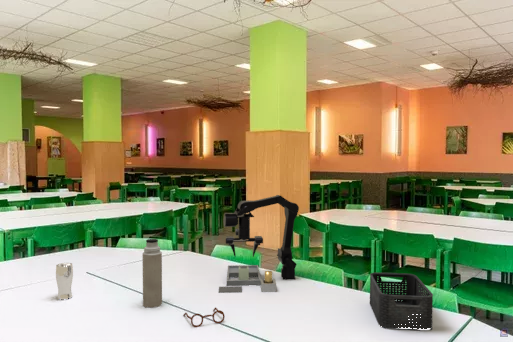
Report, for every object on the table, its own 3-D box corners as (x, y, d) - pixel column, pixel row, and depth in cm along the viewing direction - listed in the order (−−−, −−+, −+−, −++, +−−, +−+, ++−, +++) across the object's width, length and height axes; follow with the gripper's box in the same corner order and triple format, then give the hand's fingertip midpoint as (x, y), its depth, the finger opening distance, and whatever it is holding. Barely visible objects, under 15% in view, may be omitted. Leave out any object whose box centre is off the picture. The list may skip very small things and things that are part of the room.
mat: (241, 286, 202) (241, 286, 202) (242, 292, 194) (242, 291, 194) (219, 287, 201) (219, 286, 201) (218, 292, 193) (218, 292, 193)
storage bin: (435, 332, 151) (435, 295, 150) (380, 329, 153) (380, 293, 152) (414, 304, 179) (414, 273, 179) (368, 302, 181) (368, 272, 181)
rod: (271, 287, 200) (271, 270, 200) (272, 289, 197) (272, 272, 197) (263, 287, 200) (264, 270, 200) (265, 289, 196) (265, 272, 196)
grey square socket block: (274, 287, 202) (274, 279, 201) (276, 291, 195) (276, 283, 194) (260, 287, 201) (260, 279, 201) (261, 292, 194) (261, 284, 194)
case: (258, 268, 235) (258, 264, 235) (261, 285, 204) (261, 280, 204) (227, 269, 234) (227, 264, 234) (226, 285, 204) (226, 280, 203)
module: (248, 279, 214) (248, 265, 214) (248, 282, 209) (248, 267, 209) (238, 279, 214) (238, 265, 214) (238, 282, 209) (238, 267, 209)
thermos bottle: (149, 300, 183) (149, 237, 182) (165, 302, 181) (165, 238, 180) (139, 306, 176) (138, 240, 175) (155, 308, 173) (154, 241, 172)
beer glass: (76, 296, 188) (76, 263, 187) (63, 301, 182) (63, 267, 181) (65, 294, 191) (65, 262, 190) (52, 299, 185) (52, 265, 184)
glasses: (191, 329, 154) (191, 315, 154) (182, 316, 166) (182, 304, 165) (224, 323, 159) (224, 310, 159) (214, 311, 171) (214, 299, 171)
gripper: (261, 223, 219) (261, 252, 219) (225, 223, 217) (225, 253, 218) (263, 227, 208) (263, 258, 208) (225, 227, 206) (225, 258, 207)
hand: (244, 256), depth 210 cm, fingers open, 9 cm apart
